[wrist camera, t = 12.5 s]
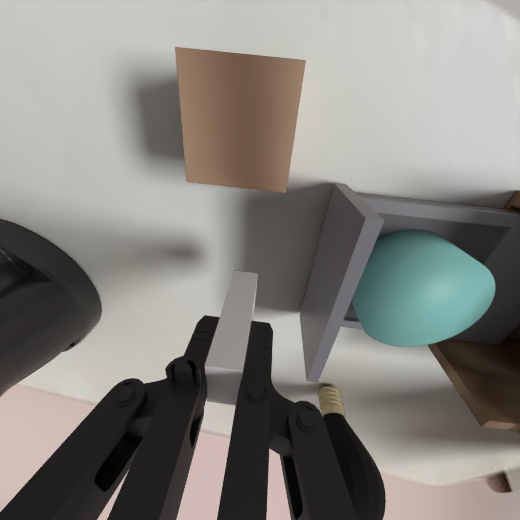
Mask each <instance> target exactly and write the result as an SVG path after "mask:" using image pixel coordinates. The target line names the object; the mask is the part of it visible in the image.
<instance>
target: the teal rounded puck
mask: <svg viewBox="0 0 520 520" xmlns="http://www.w3.org/2000/svg"><path fill="white" fill-rule="evenodd" d="M494 295H495V281H494V278H493V276H492V274H491V272H490V271H489V270H488V269H487V268H486V267H485V266H484V265H483V264H481V263H480V262H478V261H477V260H475V259H474V258H472V257H471V256H470V255H468V254H467V253H465V252H464V251H462V250H461V249H460V248H458V247H457V246H455V245H454V244H452V243H451V242H450V241H448V240H447V239H445V238H444V237H442V236H441V235H439V234H436V233H434V232H430V231H426V230H404V231H399V232H395V233H391V234H388V235H386V236H383V237H381V238H379V239H377V240H376V242H375V245H374V247H373V249H372V252H371V254H370V257H369V259H368V262H367V264H366V266H365V269H364V271H363V274H362V276H361V278H360V281H359V283H358V286H357V288H356V291H355V293H354V295H353V298H352V300H351V302H352V304H353V307H354V309H355V312H356V314H357V316H358V319H359V321H360V324H361V326H362V328H363V329H364V331H365V332H366V333H367V334H368V335H369V336H370V337H372V338H373V339H375V340H377V341H379V342H382V343H385V344H388V345H393V346H402V347H414V346H422V345H428V344H432V343H436V342H439V341H442V340H445V339H448V338H450V337H453V336H455V335H457V334H459V333H461V332H462V331H464V330H465V329H467V328H469V327H470V326H471V325H473V324H474V323H475V322H476V321H477V320H479V319H480V318H481V317H482V315H483V314H484V313H485V312H486V311H487V309H488V308H489V306H490V304H491V303H492V301H493V298H494Z"/></svg>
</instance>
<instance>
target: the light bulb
mask: <svg viewBox="0 0 520 520" xmlns="http://www.w3.org/2000/svg"><path fill="white" fill-rule="evenodd" d="M339 393H340V391H339V390H338V389H337V388H335V387H333V386H325V387H322V388H321V389H320V392H319V394H318V395H319V401H320V406H321V407H320V409H321V410H322V411H321V415H322V417H323V419H324V422H325V425H326V428H327V431H328V434H329V437H330V440H331V443H332V446H333V449H334V451H335V454H336V457H337V460H338V463H339V466H340V469H341V472H342V475H343V478H344V481H345V484H346V486H347V489H348V492H349V495H350V498H351V501H352V504H353V507H354V510H355V513H356V516H357V519H358V520H382V519H383V517H384V512H385V502H386V500H385V489H384V484H383V480H382V477H381V475H380V472H379V470H378V468H377V466H376V464H375V462H374V460H373V459H372V457H371V455H370V454H369V452H368V451H367V449H366V448H365V446H364V445H363V444H362V442H361V441H360V439H359V438H358V437H357V435H356V434H355V433H354V431H353V430H352V428H351V427H350V426H349V424H348V423H347V421H346V418H345V413H344V409H343V408H342V407H343V404H342V403H341V402H342V400H341V399H340V398H341V395H340V394H339Z"/></svg>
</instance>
